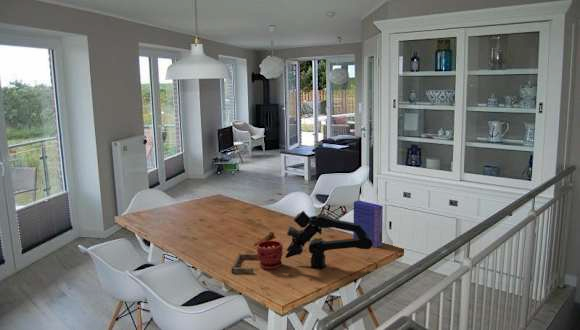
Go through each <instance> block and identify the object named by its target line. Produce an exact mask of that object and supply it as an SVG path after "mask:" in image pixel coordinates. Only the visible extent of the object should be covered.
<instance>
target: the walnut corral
mask: <svg viewBox="0 0 580 330" xmlns="http://www.w3.org/2000/svg"><path fill="white" fill-rule="evenodd" d="M241 260H259V257H258V253H239V254H238V255H237V256H236V259H235V261H234V263H233V264H232V266H231V274H246V275H247V274H251V275H252V274H254V268H253V267H238V266H239V264H240V261H241Z"/></svg>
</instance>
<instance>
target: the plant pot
mask: <svg viewBox="0 0 580 330" xmlns="http://www.w3.org/2000/svg"><path fill="white" fill-rule="evenodd" d="M273 246H274V247H273ZM256 251H257V254H258V257H259V259H258V260H259V261H260V262H259V266H260V267H261V268H262V269H266V270H274V269H278V268H280V267H281V266H282V263H283V261H282V258H283V243H282V242H280V241H279V240H268V241H264V242H261V243H259V244H258V245H257V246H256Z"/></svg>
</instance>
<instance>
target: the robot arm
mask: <svg viewBox="0 0 580 330" xmlns="http://www.w3.org/2000/svg"><path fill="white" fill-rule="evenodd" d="M293 222H295V223H296V224H297V225H298V226H299V227H300V228H304V229H301V230H298V229H296V228H294V227H292V226H289V228H288V231H287V234H286V235H287V236H289V237H292V239H291V242H290V244H289V246H288V247H287V249H286V252H287V253H286V255H284V257H285V258H286V259H288V258H291V257H294V256H298V255H301V254H303V250H304V247H305V246H306V245H305V244H307V243H308V251H309V253H310V254H311V257H310V268H312V269H318V270H323V269H324V268H325V267H327V264H326V254H325V252H326V251H331V250H332V251H333V250H342V249H352V248H356V249H360V250H369V249H371V248H373V247H372V244H373V243H372V239H371V237H370V236H369V235H367V234H366V233H365V231H364V230H363V229H362V227H361V225H360V224H358V223H354V222H350V221H346V220H340V219H338V218H337V219H336V218H333V217H331V216H329V215H327V214H324V213H319V214H317V215H312V216H309V215H308V214H307V213H306V212H305V211H304V210H302V211H301V212H299V213H298V214H297V215H295V216H294V218H293ZM329 228H334V229H338V230H341V231H347V232H353V233H354V232H355V233H356V234H357V236H358V237H356V238H354V237H353V238H346V239H345V238H344V239H336V240H335V239H334V240H323V238H322V237H318V238H313V237H314V236H315V235H316V234H317V233H318V234H319V235H322V230H323V229H329ZM312 238H313V239H312Z"/></svg>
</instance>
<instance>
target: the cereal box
mask: <svg viewBox="0 0 580 330" xmlns="http://www.w3.org/2000/svg"><path fill="white" fill-rule="evenodd" d="M383 207H384V206H383V205H380V204H377V203H373V202H368V201H362V200H356V201H353V223H358V224H360V225H361V227H362V229H363V230H364V231H365V233H366V234H367V235H369V236H370V237H371V239H372V243H373V244H372V247H371V248H375V249H378V248H381V247H383V216H384V214H383V212H384V210H383ZM356 237H358V236H357V234H356V233H355V232H353V238H356Z"/></svg>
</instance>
